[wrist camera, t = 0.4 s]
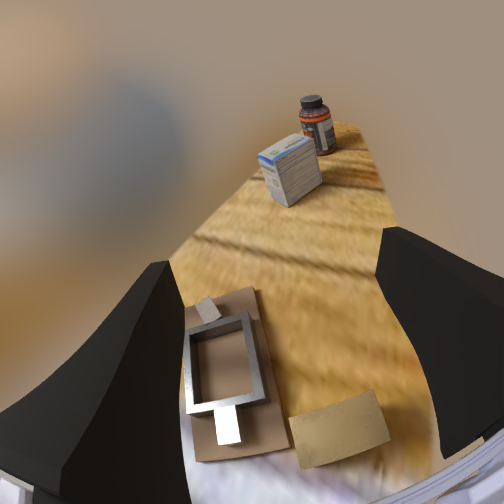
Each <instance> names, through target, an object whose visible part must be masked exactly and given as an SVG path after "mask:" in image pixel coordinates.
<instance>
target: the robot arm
mask: <svg viewBox="0 0 504 504" xmlns="http://www.w3.org/2000/svg"><path fill="white" fill-rule="evenodd" d="M375 276H376V279H377V281H378V283H379V286H380V288H381V290H382V292H383V295H384V297H385V299H386V301H387V302H388V304H389V306H390V307H391V309H392V311H393V312H394V314H395V316H396V317H397V319H398V321H399V322H400V324H401V326H402V328H403V329H404V331H405V333H406V335H407V336H408V338H409V340H410V342H411V343H412V345H413V347H414V349H415V351H416V353H417V356H418V358H419V361H420V363H421V366H422V368H423V371H424V374H425V377H426V380H427V383H428V386H429V389H430V393H431V396H432V400H433V404H434V408H435V413H436V417H437V423H438V430H439V437H440V449H441V453H442V455H443V458H444V459H447V458H448V457H450V456H452V455H454V454H455V453H457V452H459V451H460V450H462V449H463V448H465V447H466V446H468V445H470V444H471V443H472V442H474V441H475V440H477V439H478V438H480V437H481V436H483V439H484V441H485V442H484V443H483V444H481V445H480V446H479V447H477V448H476V449H474V450H473V451H471V452H470V453H469V454H467V455H465V456H464V457H462V458H461V459H459V460H458V461H456V462H454V463H453V464H451V465H450V466H448V467H446V468H444V469H443V470H441V471H439V472H437V473H436V474H434V475H432V476H430V477H428V478H426V479H424V480H422V481H420V482H418V483H416V484H414V485H412V486H410V487H408V488H406V489H404V490H401V491H399V492H397V493H395V494H392V495H390V496H387V497H385V498H382V499H380V500H377V501H374V502H372V503H369V504H423V503H425V502H427V501H429V500H431V499H433V498H435V497H436V496H438V495H440V494H442V493H443V492H445V491H446V492H445V493H443V494H442V495H441V496H440V497H438V498H437V499H436V500H435V504H504V278H502V277H500V276H498V275H495V274H493V273H491V272H489V271H486V270H484V269H482V268H480V267H478V266H476V265H474V264H472V263H470V262H468V261H466V260H464V259H462V258H460V257H458V256H456V255H455V254H453V253H451V252H449V251H447V250H445V249H443V248H441V247H439V246H438V245H436V244H434V243H432V242H430V241H428V240H426V239H424V238H422V237H420V236H418V235H416V234H414V233H412V232H410V231H408V230H406V229H403V228H400V227H390V228H383V233H382V239H381V245H380V251H379V257H378V262H377V267H376V272H375ZM184 338H185V306H184V304H183V301H182V298H181V295H180V293H179V290H178V287H177V284H176V281H175V278H174V275H173V272H172V269H171V266H170V263H169V260H167V261H161V262H154V263H151V264H150V265H149V266H148V267H147V268H146V269H145V270H144V272H143V273H142V274H141V275H140V277H139V278H138V279H137V280H136V282H135V283H134V284H133V285H132V287H131V288H130V289H129V291H128V292H127V293H126V294H125V296H124V297H123V298H122V300H121V301H120V302H119V303H118V304H117V306H116V307H115V308H114V309H113V310H112V312H111V313H110V314H109V315H108V317H107V318H106V319H105V320H104V321H103V322H102V324H101V325H100V326H99V327H98V329H97V330H96V331H95V332H94V333H93V334H92V335H91V336H90V338H89V339H88V340H87V341H86V342H85V343H84V344H83V345H82V346H81V347H80V348H79V349H78V350H77V351H76V352H75V353H74V354H73V355H72V356H71V357H70V358H69V359H68V360H67V361H66V362H65V363H64V364H62V365H61V366H60V367H59V368H58V369H57V370H56V371H55V372H54V373H53V374H52V375H51V376H49V377H48V378H47V379H46V380H45V381H43V382H42V383H41V384H40V385H39V386H38V387H36V388H35V389H34V390H33V391H31V392H30V393H28V394H27V395H26V396H25V397H23V398H22V399H20V400H19V401H18V402H16V403H15V404H13V405H11V406H10V407H9V408H7V409H6V410H4V411H2V412H1V413H0V469H1V470H3V471H4V472H6V473H8V474H10V475H12V476H14V477H16V478H18V479H20V480H22V481H24V482H26V483H28V484H30V485H33V486H34V491H31V490H28V489H26V488H24V487H22V486H20V485H18V484H16V483H14V482H12V481H10V480H8V479H6V478H4V477H2V478H1V482H0V504H192V503H191V498H190V494H189V489H188V484H187V479H186V472H185V466H184V459H183V451H182V441H181V430H180V413H179V390H180V379H181V368H182V358H183V348H184ZM478 469H479V472H478V474H477V475H475V476H473V477H471V478H469V479H467V480H465V481H463V482H461V481H462V480H464V479H466V478H467V477H468V476H470V475H471V474H473V473H474V472H475V471H477V470H478ZM459 482H461V483H459ZM458 483H459V484H458ZM456 484H457V485H456ZM453 486H454V487H453ZM448 489H449V490H448Z"/></svg>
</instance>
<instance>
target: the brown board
mask: <svg viewBox="0 0 504 504" xmlns="http://www.w3.org/2000/svg"><path fill="white" fill-rule="evenodd" d="M185 327H186V330H185V338H184V348H183V359H184V378H185V394H186V407H187V414H189V415H191V423H192V433H193V442H194V450H195V458H196V462H209V461H219V460H227V459H235V458H241V457H248V456H254V455H259V454H264V453H269V452H274V451H279V450H283V449H287V448H291V444H290V439H289V435H288V431H287V427H286V422H285V418H284V414H283V410H282V405H281V401H280V397H279V393H278V388H277V384H276V380H275V375H274V371H273V367H272V362H271V358H270V354H269V349H268V345H267V341H266V336H265V332H264V328H263V323H262V319H261V315H260V310H259V306H258V301H257V297H256V293H255V289H254V288H253V286H249V287H246V288H244V289H241V290H238V291H235V292H232V293H229V294H226V295H223V296H220V297H217V298H214V299H211V297H210V296H208V297H206V298H205V299H203V300H202V301H200V302H199V303H197V304H196V305H193V306H190V307H187V308H185Z"/></svg>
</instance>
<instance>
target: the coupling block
mask: <svg viewBox="0 0 504 504" xmlns="http://www.w3.org/2000/svg"><path fill="white" fill-rule="evenodd" d="M289 423H290V427H291V431H292V435H293V439H294V443H295V447H296V452H297V456H298V460H299V464H300V468H301V470H305V469H309V468H313V467H317V466H321V465H324V464H328V463H331V462H335V461H338V460H341V459H344V458H347V457H350V456H353V455H356V454H358V453H361V452H364V451H367V450H369V449H372V448H374V447H377V446H379V445H382V444H384V443H386V442H388V441H390V440H391V437H390V434H389V431H388V428H387V425H386V422H385V420H384V417H383V414H382V411H381V408H380V406H379V403H378V400H377V397H376V395H375V392H374V389H372V390H369V391H367V392H364V393H362V394H359V395H357V396H354V397H352V398H349V399H346V400H344V401H341V402H338V403H335V404H332V405H329V406H326V407H323V408H320V409H317V410H314V411H311V412H308V413H304V414H301V415H297V416H294V417H290V418H289Z"/></svg>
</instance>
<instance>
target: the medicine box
mask: <svg viewBox="0 0 504 504" xmlns="http://www.w3.org/2000/svg"><path fill="white" fill-rule="evenodd" d="M257 158H258V161H259V163H260V166H261V169H262V172H263V174H264V177H265V180H266V183H267V185H268V188H269V191H270V194H271V196H272V198H273V199H274V200H276V201H278V202H279V203H281V204H283V205H284V206H286V207H290V206H291V205H292V204H294V203H295V202H296V201H298V200H299V199H300V198H302V197H303V196H305V195H306V194H307V193H309V192H310V191H311V190H313V189H314V188H316V187H317V186H318V185H320V184H321V183H322V177H321V172H320V168H319V163H318V159H317V154H316V150H315V145H314V141H313V138H310V137H307V136H303V135H299V134H292V135H290V136H288V137H286V138H284V139H283V140H281V141H279V142H277V143H276V144H274V145H272V146H271V147H269V148H267V149H266V150H264V151H262V152H261V153H259V154H258V155H257Z"/></svg>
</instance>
